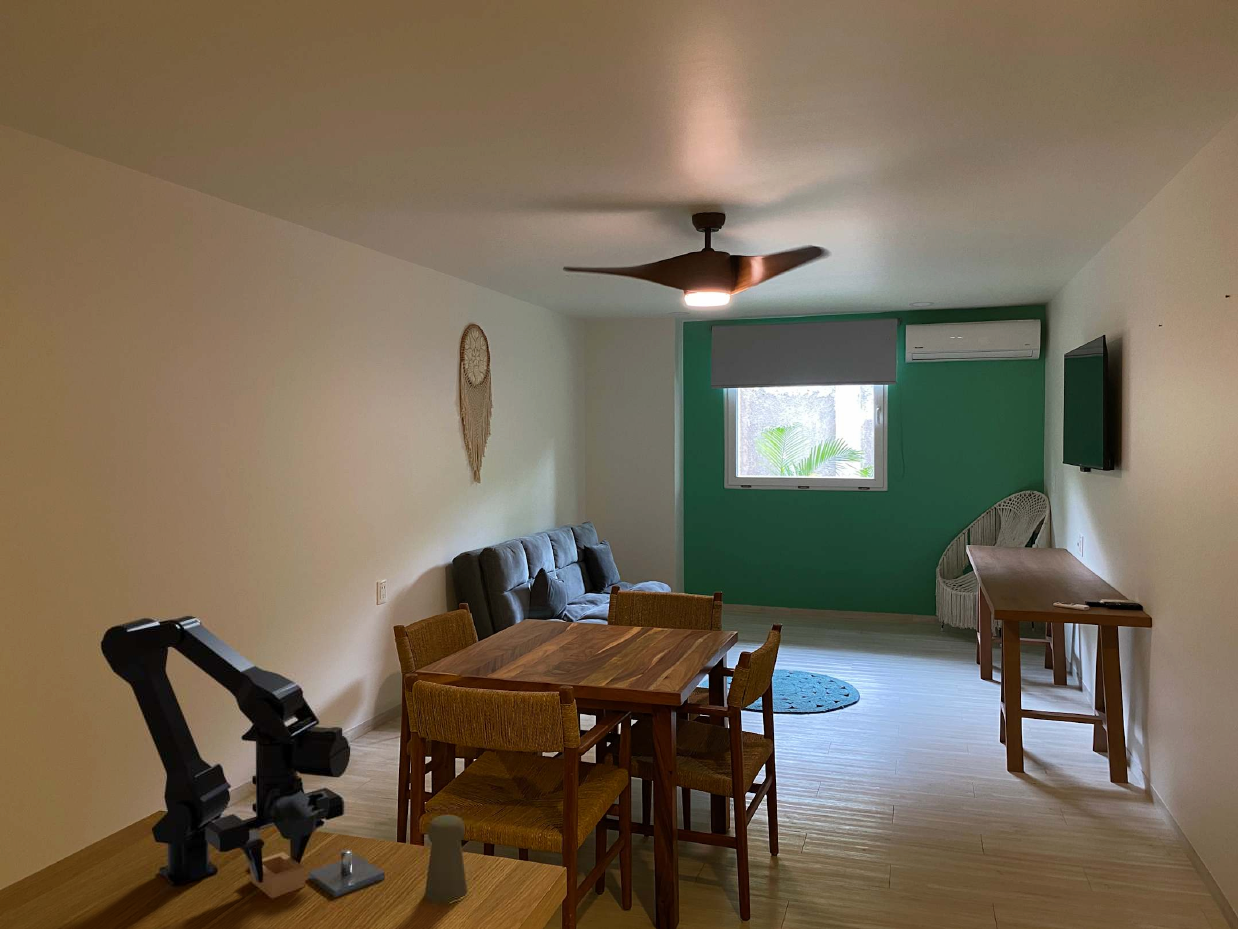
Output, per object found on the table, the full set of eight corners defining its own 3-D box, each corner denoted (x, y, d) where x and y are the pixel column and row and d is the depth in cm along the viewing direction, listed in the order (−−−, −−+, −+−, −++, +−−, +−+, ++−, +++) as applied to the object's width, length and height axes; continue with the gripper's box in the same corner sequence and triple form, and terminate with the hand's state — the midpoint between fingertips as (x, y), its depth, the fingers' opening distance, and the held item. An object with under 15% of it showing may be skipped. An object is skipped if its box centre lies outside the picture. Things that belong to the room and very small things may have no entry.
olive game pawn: (458, 906, 131) (458, 829, 130) (417, 901, 132) (417, 825, 132) (473, 886, 137) (473, 811, 136) (434, 881, 138) (434, 808, 138)
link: (250, 881, 138) (250, 862, 138) (283, 870, 141) (283, 852, 141) (271, 898, 133) (271, 879, 133) (305, 886, 136) (304, 867, 136)
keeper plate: (308, 878, 139) (308, 851, 139) (357, 860, 144) (357, 835, 144) (334, 897, 133) (334, 870, 133) (384, 878, 139) (384, 852, 139)
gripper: (236, 804, 124) (237, 920, 125) (363, 768, 137) (363, 873, 138) (203, 781, 132) (204, 890, 132) (326, 750, 145) (326, 849, 146)
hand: (277, 875), depth 137 cm, fingers closed on link, 5 cm apart
